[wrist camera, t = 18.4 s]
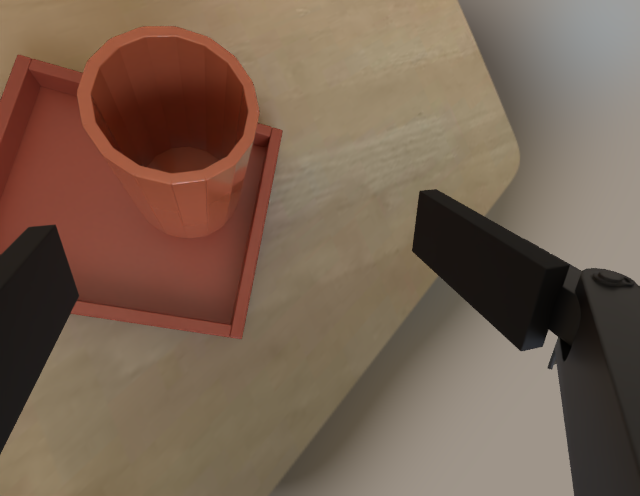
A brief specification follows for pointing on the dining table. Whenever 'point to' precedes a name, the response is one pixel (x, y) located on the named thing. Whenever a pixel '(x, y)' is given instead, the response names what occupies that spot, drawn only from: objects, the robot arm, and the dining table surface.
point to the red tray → (122, 216)
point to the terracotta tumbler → (172, 125)
